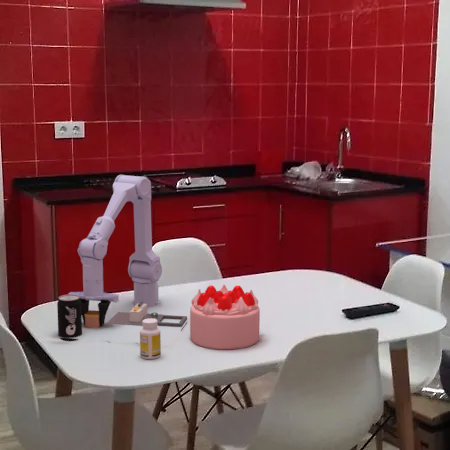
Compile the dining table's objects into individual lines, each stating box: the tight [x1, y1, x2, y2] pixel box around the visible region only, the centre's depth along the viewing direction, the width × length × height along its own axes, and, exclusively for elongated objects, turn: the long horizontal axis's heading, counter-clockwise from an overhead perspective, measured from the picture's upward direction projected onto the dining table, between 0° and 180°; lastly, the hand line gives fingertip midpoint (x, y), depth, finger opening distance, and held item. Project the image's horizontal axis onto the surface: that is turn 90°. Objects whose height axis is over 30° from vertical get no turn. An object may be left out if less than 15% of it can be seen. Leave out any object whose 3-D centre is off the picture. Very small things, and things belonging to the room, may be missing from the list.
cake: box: [189, 284, 261, 350], centre depth 215 cm, size 20×20×14 cm
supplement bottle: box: [139, 319, 162, 360], centre depth 200 cm, size 5×5×10 cm
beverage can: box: [56, 293, 83, 342], centre depth 214 cm, size 7×7×12 cm
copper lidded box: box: [84, 309, 101, 329], centre depth 223 cm, size 4×4×5 cm
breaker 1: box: [133, 302, 148, 317], centre depth 233 cm, size 4×3×4 cm
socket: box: [157, 314, 188, 332], centre depth 226 cm, size 8×8×2 cm
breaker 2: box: [129, 306, 143, 322], centre depth 228 cm, size 4×3×4 cm
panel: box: [106, 311, 163, 327], centre depth 229 cm, size 12×14×2 cm
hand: (94, 324), depth 223 cm, fingers closed on copper lidded box, 4 cm apart
